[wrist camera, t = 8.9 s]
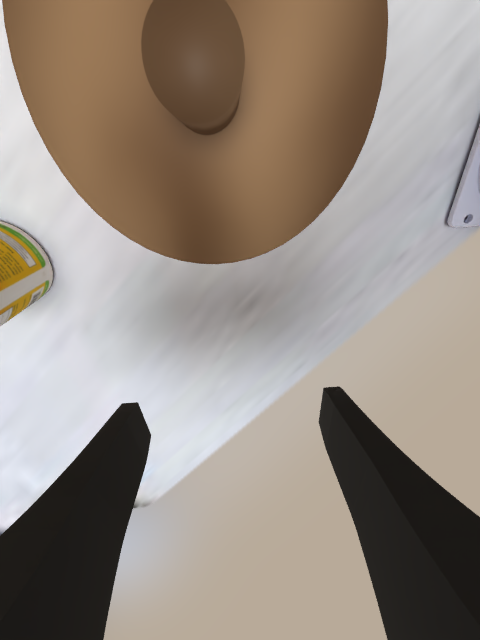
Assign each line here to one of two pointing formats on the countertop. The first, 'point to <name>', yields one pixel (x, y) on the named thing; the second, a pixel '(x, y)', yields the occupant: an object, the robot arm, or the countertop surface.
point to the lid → (202, 111)
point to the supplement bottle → (21, 271)
